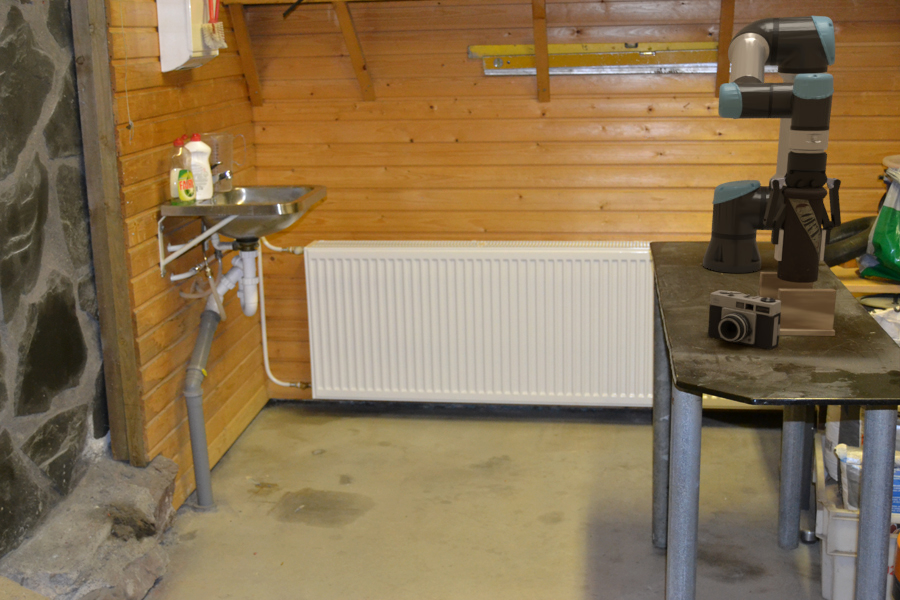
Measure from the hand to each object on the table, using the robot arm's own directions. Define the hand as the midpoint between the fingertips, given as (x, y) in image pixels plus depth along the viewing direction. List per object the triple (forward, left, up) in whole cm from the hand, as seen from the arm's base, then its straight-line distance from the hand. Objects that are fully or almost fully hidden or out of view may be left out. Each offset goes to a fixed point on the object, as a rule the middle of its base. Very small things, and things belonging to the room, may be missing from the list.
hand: (798, 259), depth 188 cm
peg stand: (0, 0, -14) cm, 14 cm away
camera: (+15, -15, -14) cm, 25 cm away
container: (0, 0, -4) cm, 4 cm away
